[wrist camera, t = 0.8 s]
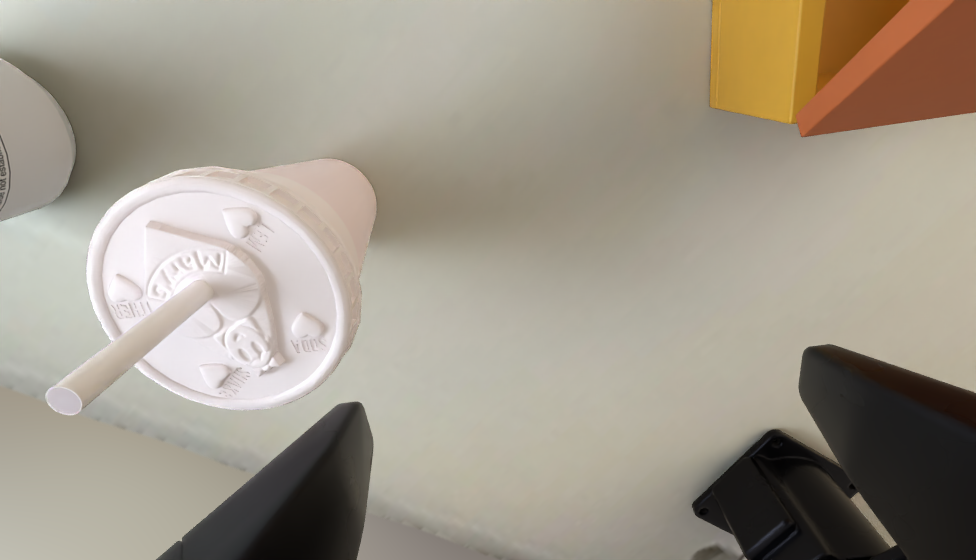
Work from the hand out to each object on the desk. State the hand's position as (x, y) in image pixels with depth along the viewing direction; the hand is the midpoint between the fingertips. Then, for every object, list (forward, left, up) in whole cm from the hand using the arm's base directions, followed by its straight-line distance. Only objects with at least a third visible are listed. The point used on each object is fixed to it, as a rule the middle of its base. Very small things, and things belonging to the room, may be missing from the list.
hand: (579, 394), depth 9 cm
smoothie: (+7, +4, -13) cm, 16 cm away
